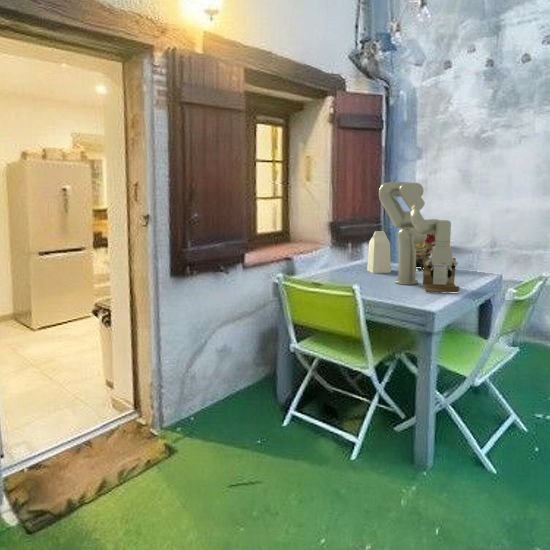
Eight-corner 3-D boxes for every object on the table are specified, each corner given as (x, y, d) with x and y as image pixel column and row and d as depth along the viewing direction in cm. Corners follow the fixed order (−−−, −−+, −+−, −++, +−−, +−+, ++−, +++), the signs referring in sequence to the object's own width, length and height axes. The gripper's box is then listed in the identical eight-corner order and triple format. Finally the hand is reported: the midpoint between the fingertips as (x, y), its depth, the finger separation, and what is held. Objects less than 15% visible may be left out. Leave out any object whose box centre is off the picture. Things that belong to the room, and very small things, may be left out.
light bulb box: (434, 280, 252) (435, 260, 250) (448, 281, 249) (449, 261, 247) (432, 284, 242) (433, 263, 240) (446, 285, 239) (447, 264, 237)
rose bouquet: (399, 265, 328) (400, 222, 323) (443, 266, 318) (445, 222, 313) (395, 271, 305) (397, 225, 299) (443, 273, 295) (445, 225, 289)
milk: (372, 273, 298) (373, 232, 293) (367, 270, 309) (367, 231, 305) (390, 272, 300) (392, 232, 295) (384, 269, 311) (385, 230, 306)
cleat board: (422, 286, 256) (423, 257, 253) (453, 287, 252) (455, 257, 250) (425, 292, 240) (427, 262, 237) (458, 293, 237) (460, 262, 234)
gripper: (425, 244, 240) (424, 278, 243) (461, 245, 237) (459, 279, 240) (424, 243, 247) (422, 276, 250) (458, 243, 244) (457, 276, 247)
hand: (440, 277), depth 245 cm, fingers closed on light bulb box, 7 cm apart
